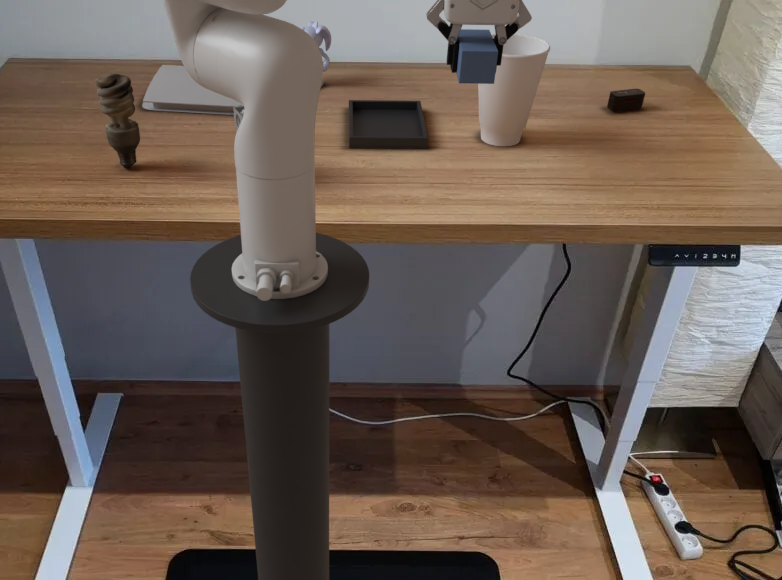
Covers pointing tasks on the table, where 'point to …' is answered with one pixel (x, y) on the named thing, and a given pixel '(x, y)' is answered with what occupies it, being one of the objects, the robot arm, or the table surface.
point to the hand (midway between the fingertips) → (472, 68)
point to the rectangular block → (476, 57)
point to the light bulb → (119, 116)
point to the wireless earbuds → (626, 100)
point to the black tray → (386, 124)
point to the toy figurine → (320, 40)
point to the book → (184, 94)
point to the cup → (512, 90)
